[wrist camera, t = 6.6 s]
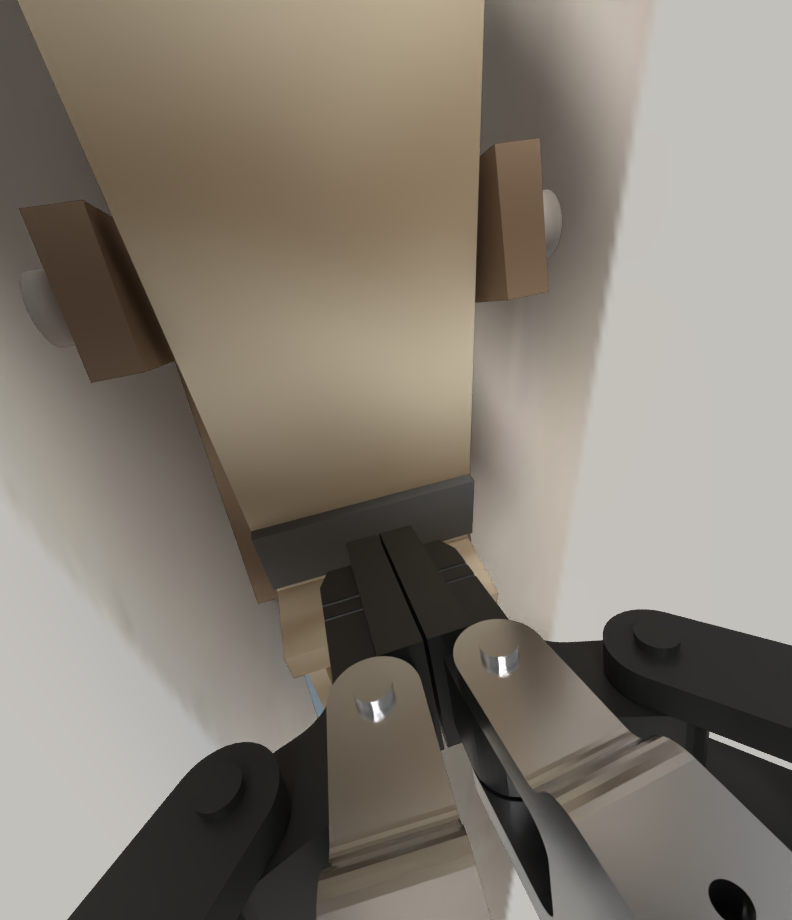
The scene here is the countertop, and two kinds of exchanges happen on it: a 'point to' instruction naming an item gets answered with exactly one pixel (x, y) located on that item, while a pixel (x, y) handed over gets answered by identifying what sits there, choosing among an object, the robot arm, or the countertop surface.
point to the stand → (143, 341)
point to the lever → (300, 252)
